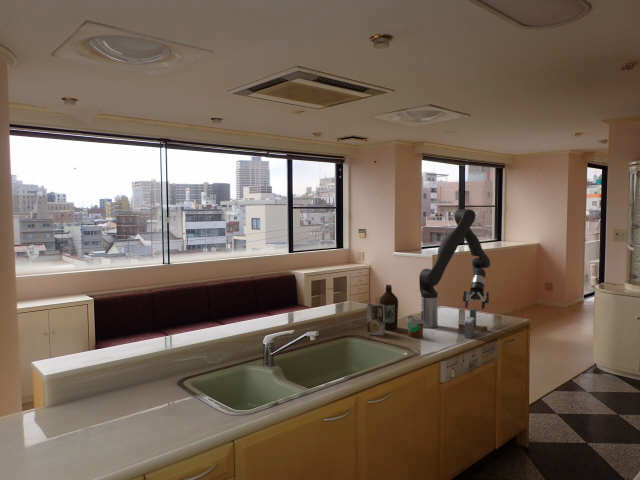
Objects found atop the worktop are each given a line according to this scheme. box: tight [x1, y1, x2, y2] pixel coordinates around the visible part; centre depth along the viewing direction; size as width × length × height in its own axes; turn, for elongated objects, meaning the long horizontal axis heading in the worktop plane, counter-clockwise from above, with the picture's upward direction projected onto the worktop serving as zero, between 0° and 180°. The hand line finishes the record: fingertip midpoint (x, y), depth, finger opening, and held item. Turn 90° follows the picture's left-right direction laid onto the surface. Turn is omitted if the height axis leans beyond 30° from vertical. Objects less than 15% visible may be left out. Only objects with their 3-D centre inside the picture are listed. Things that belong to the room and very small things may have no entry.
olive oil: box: [378, 284, 399, 331], centre depth 275 cm, size 11×11×25 cm
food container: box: [405, 315, 424, 339], centre depth 258 cm, size 12×6×10 cm, turn 21°
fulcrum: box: [464, 316, 475, 339], centre depth 257 cm, size 3×10×9 cm, turn 153°
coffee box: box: [366, 303, 386, 336], centre depth 265 cm, size 9×6×16 cm
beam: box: [458, 308, 488, 332], centre depth 270 cm, size 15×3×11 cm, turn 63°
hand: (474, 307), depth 274 cm, fingers open, 8 cm apart
